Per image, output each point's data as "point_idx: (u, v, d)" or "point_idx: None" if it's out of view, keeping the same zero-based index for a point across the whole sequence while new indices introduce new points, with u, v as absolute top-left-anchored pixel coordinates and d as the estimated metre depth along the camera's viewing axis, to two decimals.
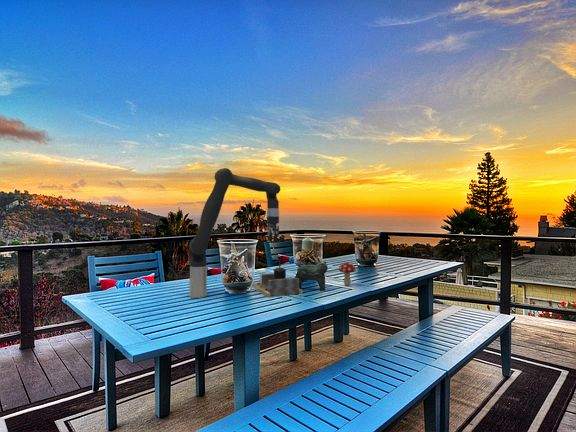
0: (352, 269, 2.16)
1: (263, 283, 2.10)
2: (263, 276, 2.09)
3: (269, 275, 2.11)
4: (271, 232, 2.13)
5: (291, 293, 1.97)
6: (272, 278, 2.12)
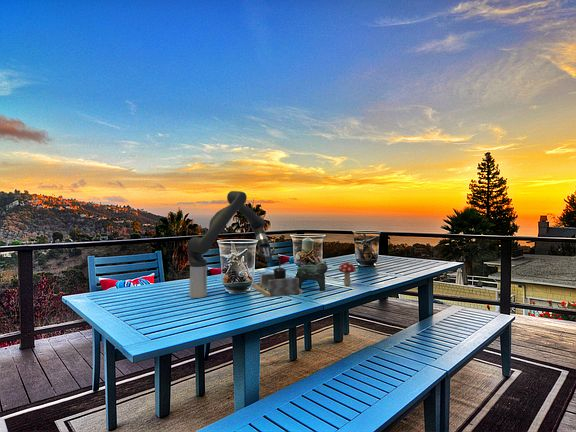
0: (352, 269, 2.16)
1: (263, 283, 2.10)
2: (263, 276, 2.09)
3: (269, 275, 2.11)
4: None
5: (291, 293, 1.97)
6: (272, 278, 2.12)
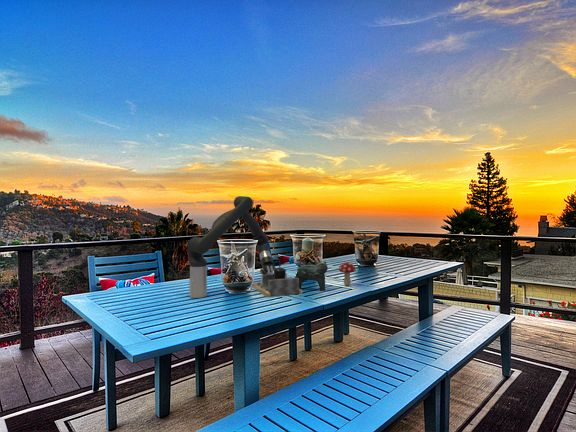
0: (352, 269, 2.16)
1: (264, 284, 2.08)
2: (264, 276, 2.08)
3: (270, 275, 2.10)
4: None
5: (291, 293, 1.97)
6: (273, 278, 2.10)
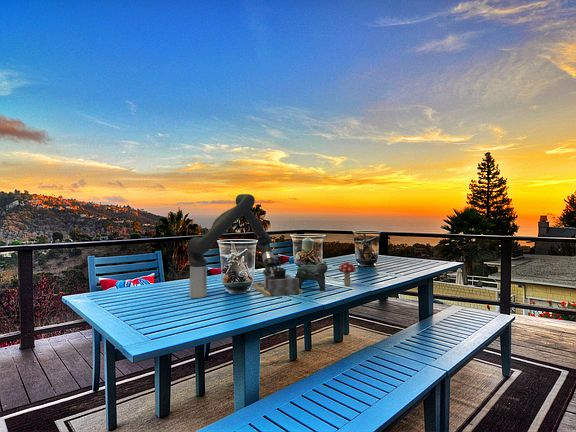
0: (352, 269, 2.16)
1: (267, 286, 2.03)
2: (267, 278, 2.03)
3: (273, 277, 2.04)
4: (272, 274, 2.13)
5: (291, 293, 1.97)
6: None
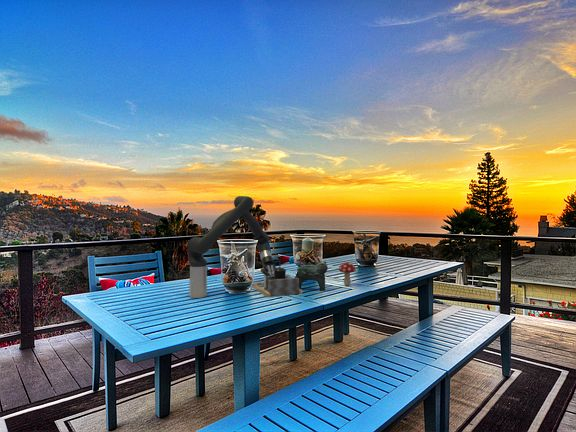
0: (352, 269, 2.16)
1: (267, 286, 2.03)
2: (267, 278, 2.03)
3: (273, 277, 2.04)
4: None
5: (291, 293, 1.97)
6: None
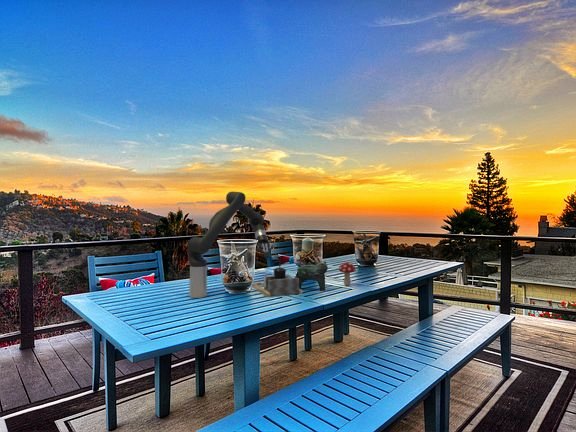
0: (352, 269, 2.16)
1: (267, 286, 2.03)
2: (267, 278, 2.03)
3: (273, 277, 2.04)
4: None
5: (291, 293, 1.97)
6: None
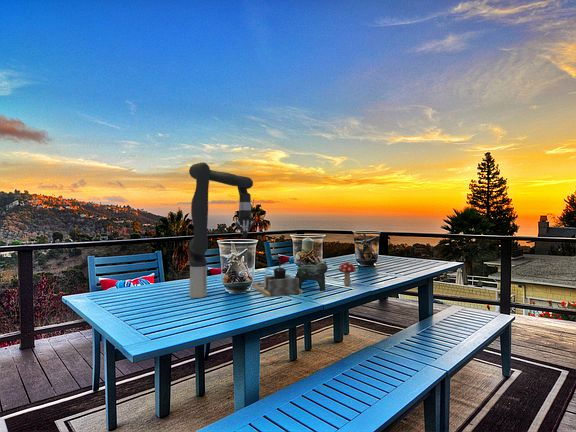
0: (352, 269, 2.16)
1: (267, 286, 2.03)
2: (267, 278, 2.03)
3: (273, 277, 2.04)
4: None
5: (291, 293, 1.97)
6: None
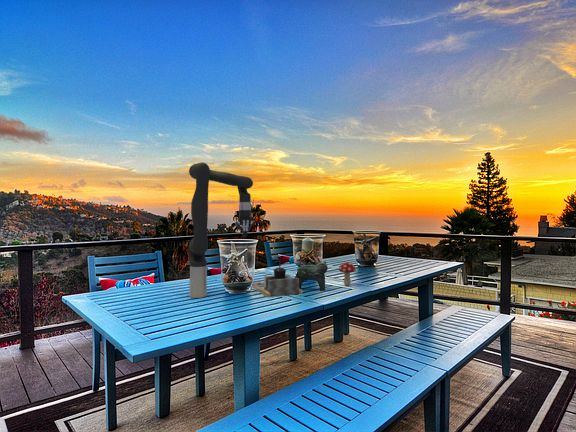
0: (352, 269, 2.16)
1: (267, 286, 2.03)
2: (267, 278, 2.03)
3: (273, 277, 2.04)
4: None
5: (291, 293, 1.97)
6: None
